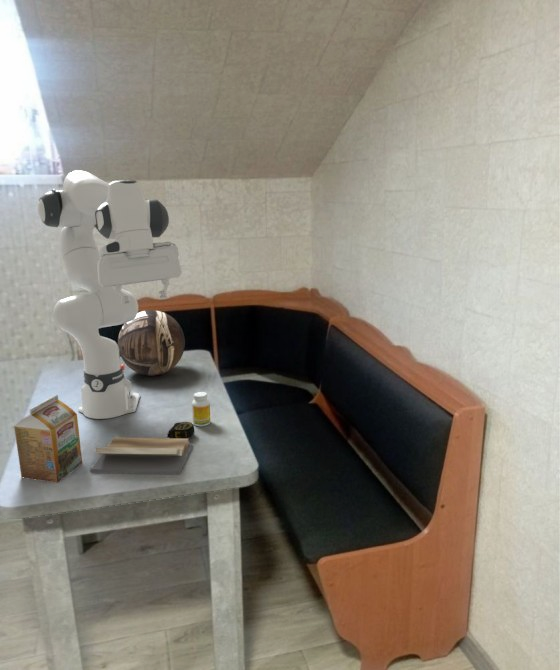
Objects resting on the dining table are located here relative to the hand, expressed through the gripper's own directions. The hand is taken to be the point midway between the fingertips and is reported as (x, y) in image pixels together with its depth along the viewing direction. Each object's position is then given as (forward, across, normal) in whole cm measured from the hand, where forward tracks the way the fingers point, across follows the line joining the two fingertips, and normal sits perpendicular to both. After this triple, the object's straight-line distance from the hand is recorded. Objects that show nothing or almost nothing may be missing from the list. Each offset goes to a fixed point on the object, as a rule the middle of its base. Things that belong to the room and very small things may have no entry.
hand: (144, 300), depth 143 cm
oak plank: (+40, +3, -16) cm, 43 cm away
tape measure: (+40, -7, -22) cm, 46 cm away
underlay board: (+41, +5, -13) cm, 44 cm away
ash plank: (+39, +7, -9) cm, 41 cm away
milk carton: (+39, +28, -17) cm, 51 cm away
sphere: (+25, -14, -81) cm, 86 cm away
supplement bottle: (+38, -16, -28) cm, 50 cm away
